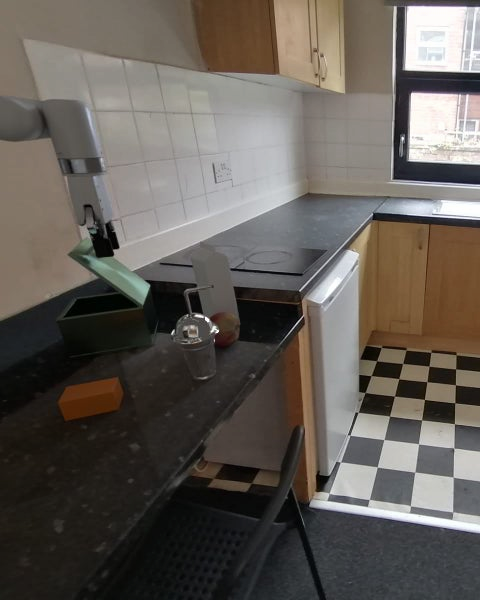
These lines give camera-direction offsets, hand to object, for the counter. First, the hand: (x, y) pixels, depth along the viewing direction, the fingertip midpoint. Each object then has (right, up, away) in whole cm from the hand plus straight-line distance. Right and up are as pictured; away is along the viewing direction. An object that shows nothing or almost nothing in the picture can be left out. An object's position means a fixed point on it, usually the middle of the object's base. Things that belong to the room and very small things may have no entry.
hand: (108, 252), depth 89 cm
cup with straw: (+24, -26, -5) cm, 36 cm away
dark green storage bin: (-3, -20, +8) cm, 22 cm away
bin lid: (-1, -4, +2) cm, 5 cm away
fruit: (+24, -21, +6) cm, 32 cm away
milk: (+19, -18, +14) cm, 30 cm away
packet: (+8, -30, -15) cm, 35 cm away
